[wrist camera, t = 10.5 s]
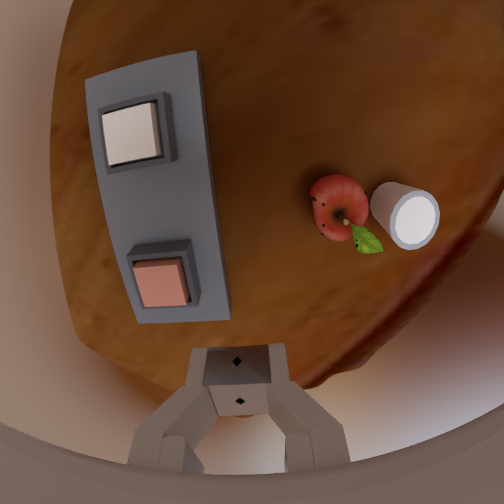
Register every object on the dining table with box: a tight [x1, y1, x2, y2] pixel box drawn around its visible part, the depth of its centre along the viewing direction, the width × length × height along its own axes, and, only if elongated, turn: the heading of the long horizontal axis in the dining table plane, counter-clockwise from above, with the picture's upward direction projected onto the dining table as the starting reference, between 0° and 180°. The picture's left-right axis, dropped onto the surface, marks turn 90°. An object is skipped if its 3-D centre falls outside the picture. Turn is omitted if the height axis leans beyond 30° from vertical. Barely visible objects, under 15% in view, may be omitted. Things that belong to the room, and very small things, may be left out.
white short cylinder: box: [370, 182, 440, 250], centre depth 30 cm, size 7×7×7 cm
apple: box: [310, 174, 383, 254], centre depth 29 cm, size 8×7×10 cm
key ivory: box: [102, 103, 164, 165], centre depth 24 cm, size 5×5×3 cm
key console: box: [85, 50, 232, 323], centre depth 30 cm, size 32×13×6 cm, turn 5°
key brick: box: [133, 256, 190, 307], centre depth 31 cm, size 5×5×3 cm
